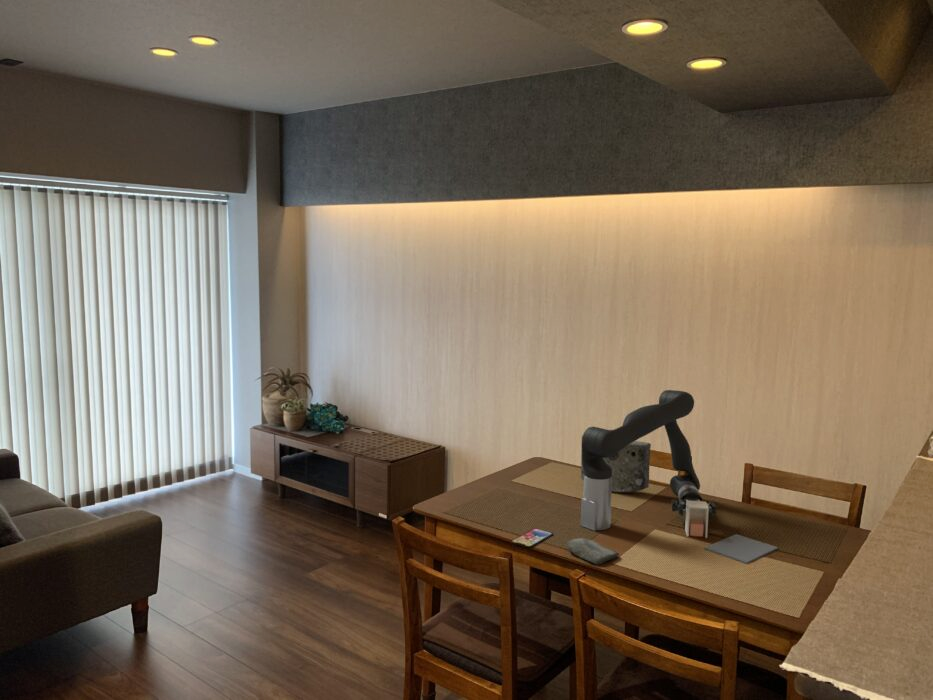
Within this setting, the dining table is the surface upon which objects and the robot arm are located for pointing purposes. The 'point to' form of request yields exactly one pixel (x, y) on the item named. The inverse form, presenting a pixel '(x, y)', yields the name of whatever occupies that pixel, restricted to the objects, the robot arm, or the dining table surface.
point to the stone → (591, 551)
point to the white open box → (696, 514)
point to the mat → (741, 548)
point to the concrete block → (629, 467)
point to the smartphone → (531, 538)
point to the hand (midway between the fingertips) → (695, 513)
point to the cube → (696, 528)
